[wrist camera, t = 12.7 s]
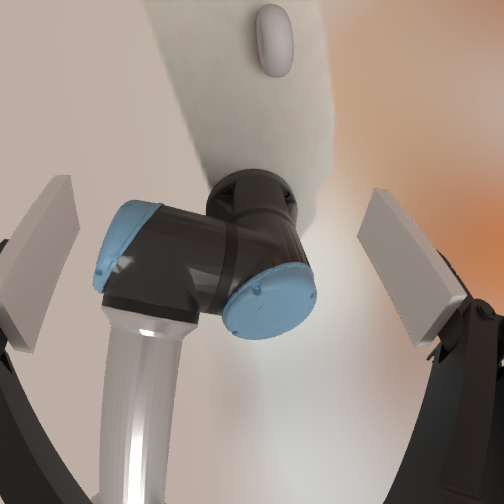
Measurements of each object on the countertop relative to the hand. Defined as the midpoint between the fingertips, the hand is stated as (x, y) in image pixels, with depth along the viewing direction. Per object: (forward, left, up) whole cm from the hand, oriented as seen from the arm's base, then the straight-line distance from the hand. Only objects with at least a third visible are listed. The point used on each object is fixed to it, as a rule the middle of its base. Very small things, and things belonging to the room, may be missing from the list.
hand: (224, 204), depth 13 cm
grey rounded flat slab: (+6, -7, -35) cm, 36 cm away
